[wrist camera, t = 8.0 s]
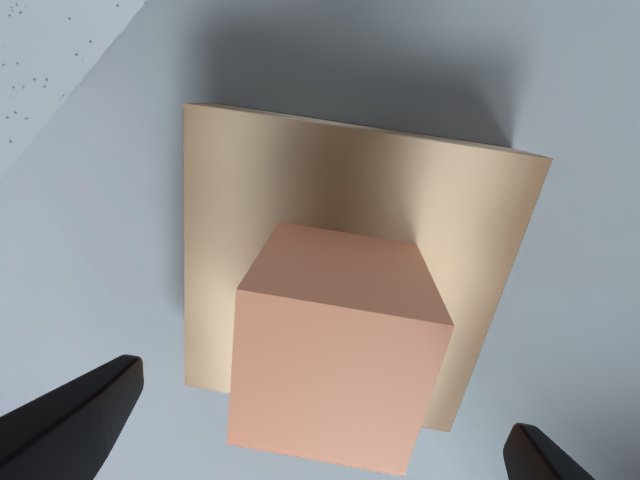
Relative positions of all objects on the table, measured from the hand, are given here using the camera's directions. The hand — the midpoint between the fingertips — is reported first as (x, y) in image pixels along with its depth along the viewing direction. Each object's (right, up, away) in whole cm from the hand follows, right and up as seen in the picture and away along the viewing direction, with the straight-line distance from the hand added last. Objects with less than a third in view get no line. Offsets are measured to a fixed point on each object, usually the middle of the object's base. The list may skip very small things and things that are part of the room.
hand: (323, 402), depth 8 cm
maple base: (+1, +3, +8) cm, 8 cm away
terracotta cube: (+1, +2, +5) cm, 6 cm away
